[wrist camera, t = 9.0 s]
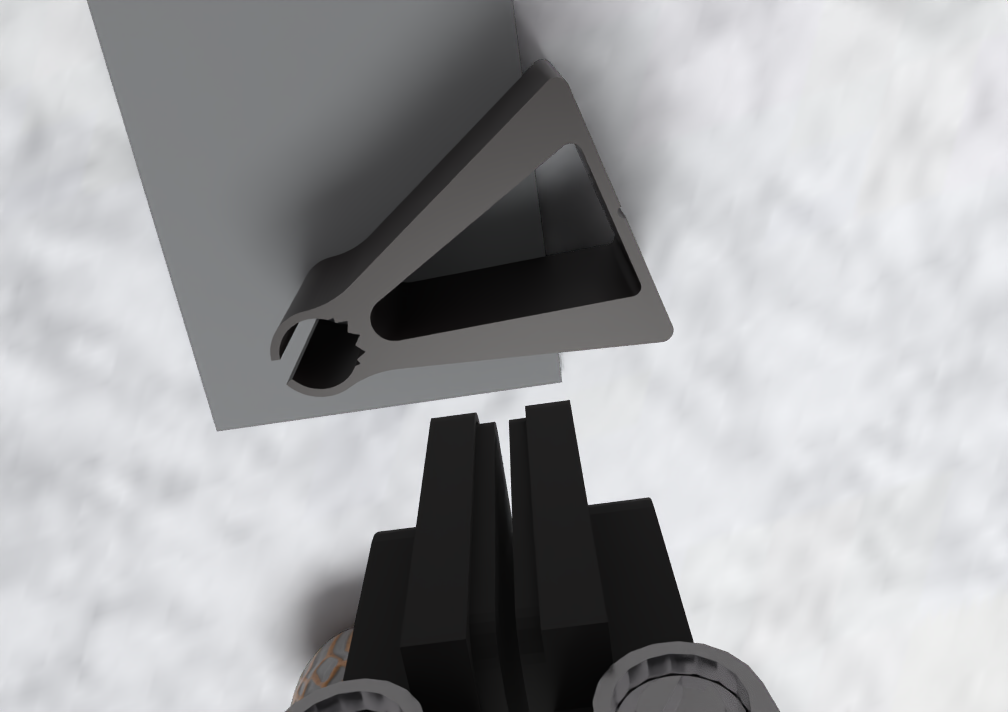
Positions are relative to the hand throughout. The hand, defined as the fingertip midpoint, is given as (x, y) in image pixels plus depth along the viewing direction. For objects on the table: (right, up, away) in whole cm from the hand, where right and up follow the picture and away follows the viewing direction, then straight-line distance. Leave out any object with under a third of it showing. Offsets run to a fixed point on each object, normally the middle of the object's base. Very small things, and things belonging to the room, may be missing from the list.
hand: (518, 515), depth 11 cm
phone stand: (+4, +8, +19) cm, 21 cm away
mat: (-6, +8, +22) cm, 25 cm away
